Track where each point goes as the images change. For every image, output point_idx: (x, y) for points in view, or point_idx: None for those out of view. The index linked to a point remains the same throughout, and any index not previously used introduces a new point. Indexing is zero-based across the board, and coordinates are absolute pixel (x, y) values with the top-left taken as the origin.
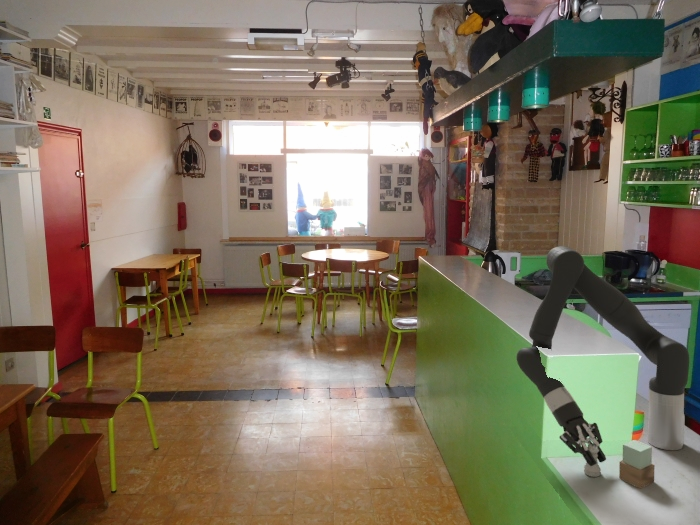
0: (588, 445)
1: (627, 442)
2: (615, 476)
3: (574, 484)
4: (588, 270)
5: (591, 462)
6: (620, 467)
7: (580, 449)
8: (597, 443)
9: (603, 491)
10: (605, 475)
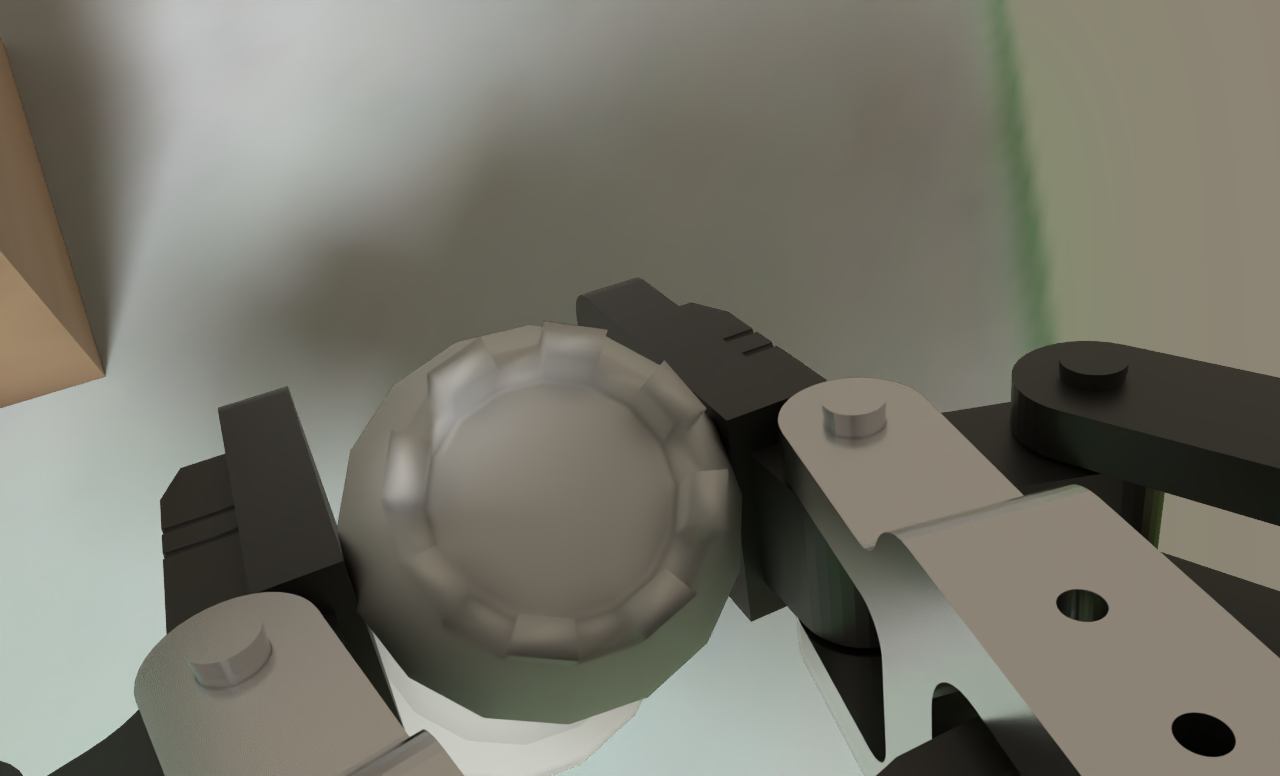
0: (675, 581)
1: None
2: (130, 446)
3: (948, 361)
4: None
5: (699, 313)
6: (18, 254)
7: (1070, 348)
8: (242, 637)
9: (622, 114)
10: None
